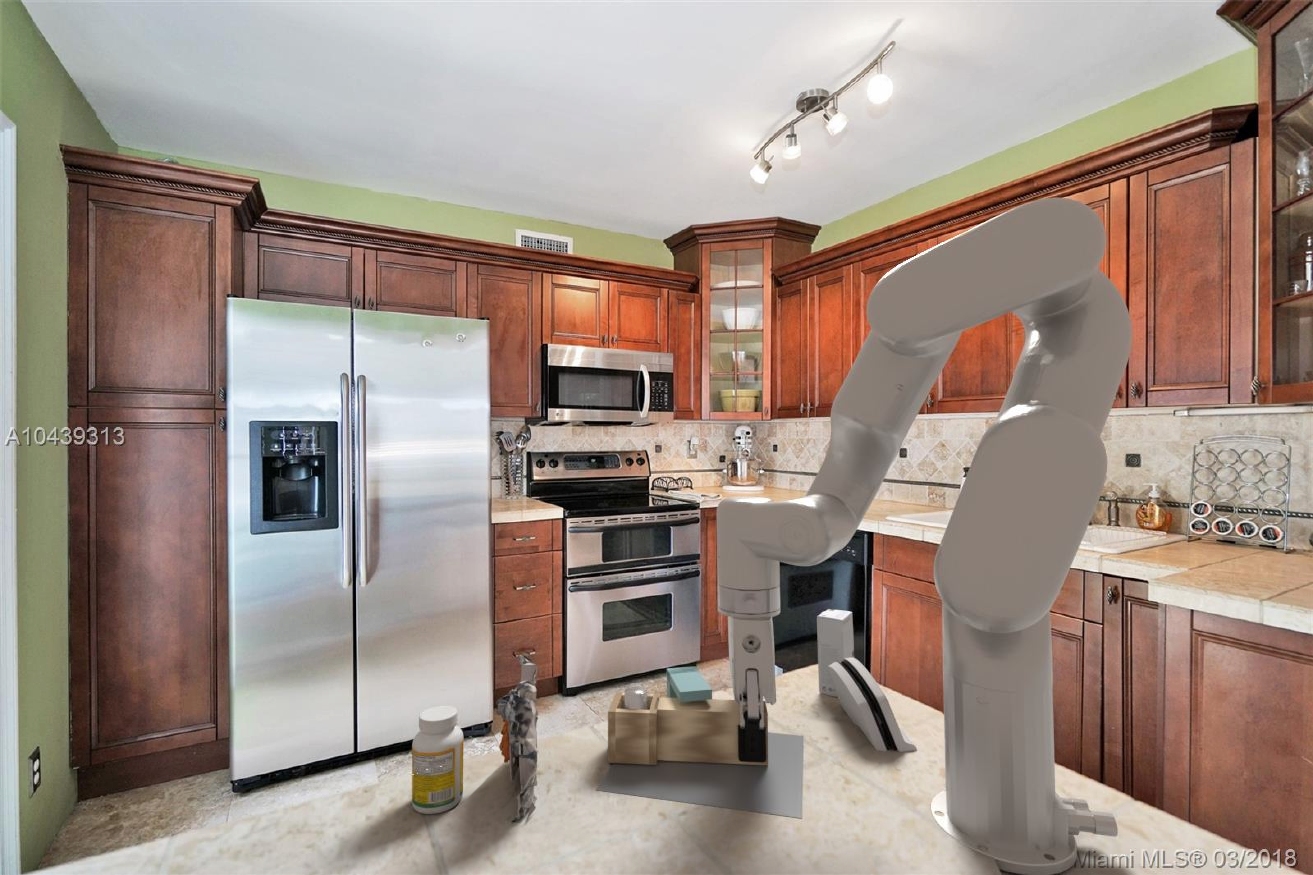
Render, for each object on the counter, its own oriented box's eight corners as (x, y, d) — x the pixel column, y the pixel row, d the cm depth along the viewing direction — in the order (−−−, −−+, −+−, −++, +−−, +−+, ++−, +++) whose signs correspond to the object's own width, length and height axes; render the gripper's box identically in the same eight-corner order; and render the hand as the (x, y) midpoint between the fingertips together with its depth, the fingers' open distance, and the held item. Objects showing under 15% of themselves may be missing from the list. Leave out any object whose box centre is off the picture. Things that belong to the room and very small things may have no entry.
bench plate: (803, 745, 77) (803, 736, 77) (802, 830, 60) (802, 818, 60) (640, 727, 83) (640, 719, 83) (596, 801, 65) (595, 790, 65)
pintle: (650, 748, 75) (649, 687, 75) (644, 759, 72) (643, 696, 72) (628, 745, 75) (628, 685, 76) (622, 756, 73) (621, 694, 73)
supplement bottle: (440, 820, 62) (439, 727, 62) (400, 809, 64) (400, 719, 64) (473, 793, 67) (473, 707, 68) (436, 783, 69) (436, 700, 69)
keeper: (680, 759, 72) (680, 692, 72) (667, 729, 80) (666, 668, 80) (712, 755, 73) (712, 689, 73) (696, 726, 81) (695, 666, 81)
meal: (503, 762, 74) (502, 655, 74) (538, 758, 75) (537, 653, 75) (494, 838, 59) (494, 705, 60) (538, 832, 60) (538, 701, 61)
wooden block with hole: (607, 762, 71) (607, 711, 71) (616, 739, 77) (616, 692, 77) (769, 770, 69) (768, 717, 69) (765, 746, 75) (764, 697, 75)
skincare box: (845, 699, 92) (844, 620, 92) (817, 693, 94) (815, 616, 94) (856, 686, 97) (855, 611, 97) (829, 680, 99) (827, 607, 100)
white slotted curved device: (922, 761, 73) (893, 684, 73) (886, 775, 73) (856, 697, 73) (874, 704, 90) (850, 641, 90) (844, 715, 90) (821, 652, 90)
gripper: (788, 618, 64) (791, 791, 63) (773, 584, 80) (775, 722, 80) (717, 616, 65) (720, 788, 64) (717, 583, 81) (719, 720, 81)
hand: (751, 750), depth 72 cm, fingers closed on wooden block with hole, 3 cm apart
